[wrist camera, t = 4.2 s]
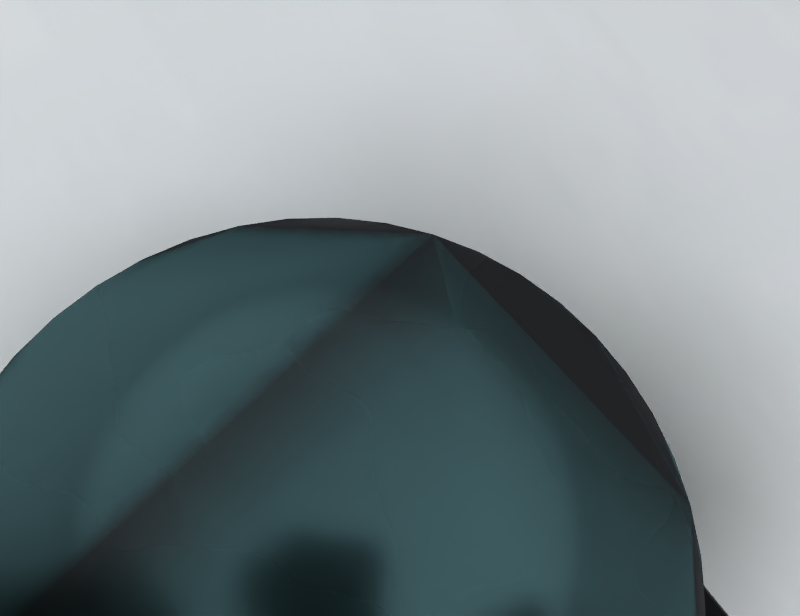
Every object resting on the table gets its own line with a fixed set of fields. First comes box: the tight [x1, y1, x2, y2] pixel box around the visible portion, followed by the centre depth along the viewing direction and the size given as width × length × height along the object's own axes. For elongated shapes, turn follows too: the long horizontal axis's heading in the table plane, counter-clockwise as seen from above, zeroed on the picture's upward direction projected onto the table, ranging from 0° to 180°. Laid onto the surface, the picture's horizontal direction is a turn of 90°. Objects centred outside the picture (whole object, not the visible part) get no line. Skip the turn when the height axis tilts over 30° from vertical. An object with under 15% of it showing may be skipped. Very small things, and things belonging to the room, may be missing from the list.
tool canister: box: [0, 218, 705, 616], centre depth 9 cm, size 5×5×12 cm
